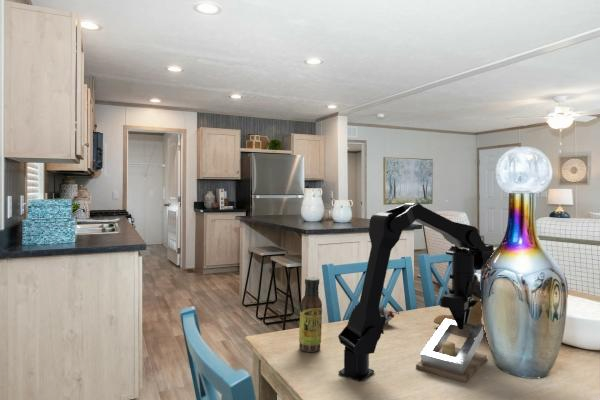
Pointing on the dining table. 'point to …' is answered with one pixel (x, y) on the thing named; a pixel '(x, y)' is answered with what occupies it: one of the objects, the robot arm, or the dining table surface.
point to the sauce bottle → (310, 317)
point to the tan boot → (473, 317)
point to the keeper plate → (451, 350)
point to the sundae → (386, 313)
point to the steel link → (465, 354)
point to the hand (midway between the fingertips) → (462, 328)
